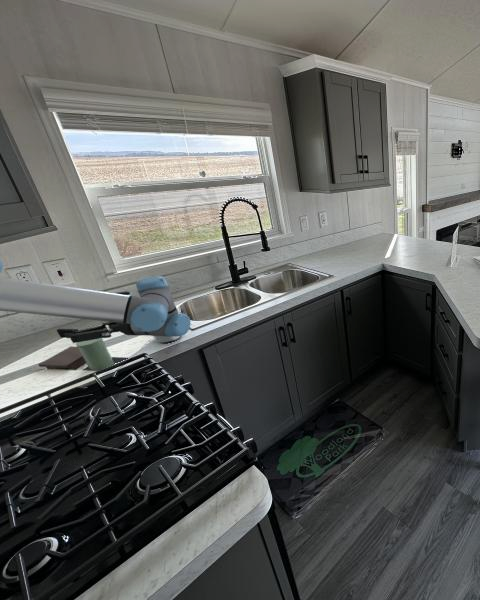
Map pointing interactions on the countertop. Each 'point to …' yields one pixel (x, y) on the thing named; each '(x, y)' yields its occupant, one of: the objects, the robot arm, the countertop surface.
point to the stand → (65, 360)
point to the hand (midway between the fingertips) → (80, 322)
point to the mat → (115, 359)
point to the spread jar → (166, 339)
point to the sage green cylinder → (95, 354)
